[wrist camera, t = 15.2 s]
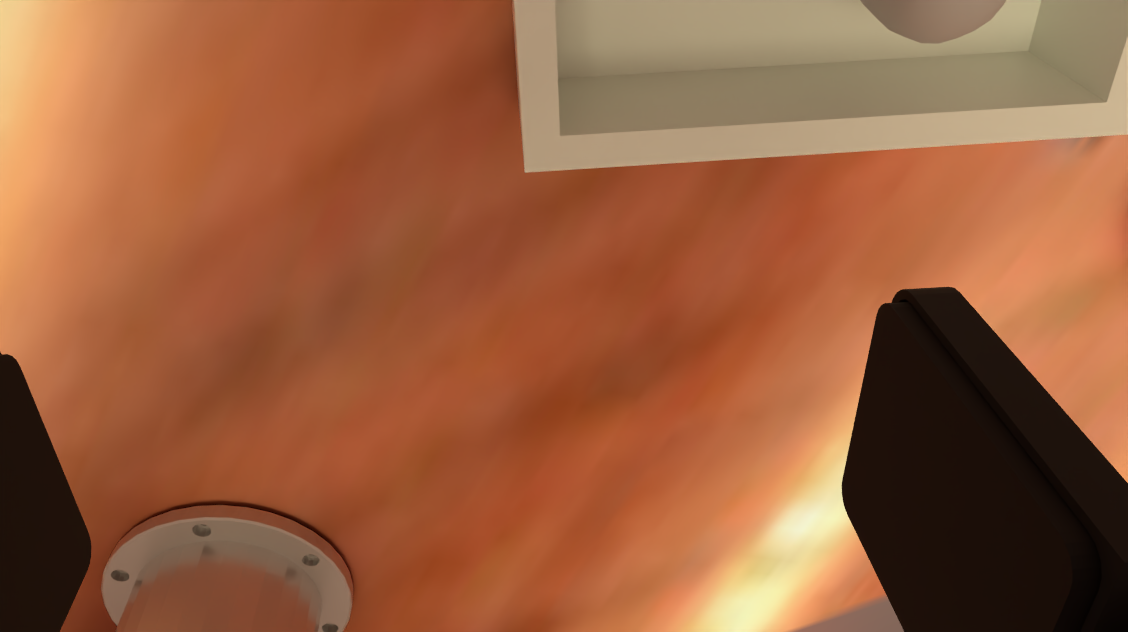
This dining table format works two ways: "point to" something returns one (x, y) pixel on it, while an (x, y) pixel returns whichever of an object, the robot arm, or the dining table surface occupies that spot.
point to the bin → (804, 79)
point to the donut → (933, 17)
